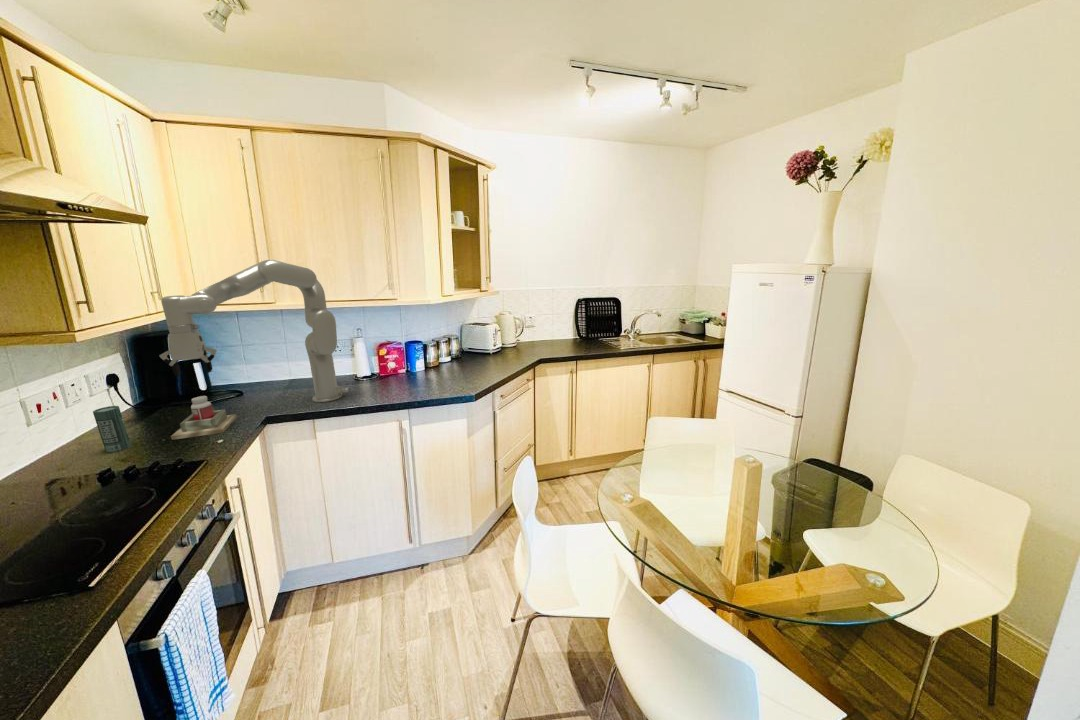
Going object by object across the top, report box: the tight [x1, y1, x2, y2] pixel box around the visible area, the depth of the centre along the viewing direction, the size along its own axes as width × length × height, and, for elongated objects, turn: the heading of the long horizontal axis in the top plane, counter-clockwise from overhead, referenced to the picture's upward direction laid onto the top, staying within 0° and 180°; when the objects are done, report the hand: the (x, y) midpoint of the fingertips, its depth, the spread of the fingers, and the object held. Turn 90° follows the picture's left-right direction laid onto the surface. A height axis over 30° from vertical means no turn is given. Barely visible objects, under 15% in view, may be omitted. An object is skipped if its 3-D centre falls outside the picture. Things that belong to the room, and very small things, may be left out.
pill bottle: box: [190, 395, 214, 421], centre depth 159 cm, size 6×6×11 cm
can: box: [92, 405, 132, 454], centre depth 143 cm, size 6×6×15 cm
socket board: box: [170, 408, 238, 441], centre depth 160 cm, size 16×16×5 cm
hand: (194, 373), depth 155 cm, fingers open, 9 cm apart
